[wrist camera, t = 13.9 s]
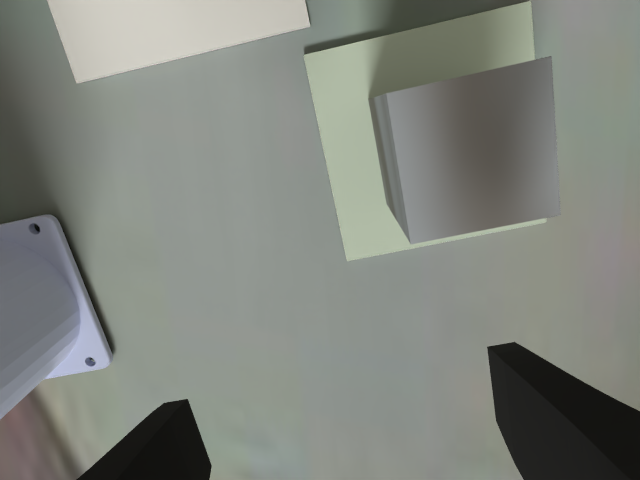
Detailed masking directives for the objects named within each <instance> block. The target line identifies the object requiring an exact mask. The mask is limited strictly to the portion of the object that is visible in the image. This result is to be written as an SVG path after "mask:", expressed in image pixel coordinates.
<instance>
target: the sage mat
mask: <svg viewBox="0 0 640 480" xmlns="http://www.w3.org/2000/svg"><path fill="white" fill-rule="evenodd" d="M304 60H305V65H306V70H307V74H308V79H309V84H310V88H311V93H312V98H313V103H314V107H315V112H316V117H317V122H318V126H319V131H320V136H321V141H322V145H323V150H324V155H325V160H326V164H327V169H328V174H329V179H330V183H331V188H332V193H333V198H334V202H335V207H336V212H337V216H338V221H339V226H340V231H341V235H342V240H343V245H344V250H345V254H346V259H347V261H351V260H356V259H361V258H366V257H372V256H377V255H382V254H387V253H392V252H397V251H402V250H407V249H412V248H417V247H423V246H428V245H433V244H438V243H443V242H448V241H453V240H458V239H463V238H469V237H474V236H479V235H484V234H489V233H494V232H499V231H504V230H509V229H515V228H520V227H525V226H530V225H535V224H540V223H545V222H546V218H543V219H538V220H533V221H528V222H523V223H518V224H513V225H508V226H503V227H497V228H492V229H487V230H482V231H477V232H472V233H467V234H462V235H457V236H451V237H446V238H441V239H436V240H431V241H426V242H421V243H416V244H410V242H409V241H408V239H407V237H406V236H405V234H404V232H403V231H402V229H401V227H400V226H399V224H398V222H397V221H396V219H395V217H394V216H393V214H392V212H391V211H390V209H389V207H388V206H387V204H386V198H385V193H384V187H383V181H382V175H381V170H380V164H379V158H378V153H377V147H376V141H375V135H374V130H373V124H372V118H371V113H370V107H369V101H368V99H371V98H374V97H377V96H380V95H383V94H386V93H390V92H395V91H399V90H404V89H408V88H412V87H417V86H421V85H426V84H430V83H434V82H439V81H443V80H448V79H452V78H456V77H461V76H465V75H470V74H474V73H479V72H483V71H487V70H492V69H496V68H501V67H505V66H509V65H514V64H518V63H523V62H527V61H532V60H535V52H534V38H533V23H532V9H531V1H527V2H523V3H519V4H515V5H511V6H506V7H502V8H498V9H494V10H490V11H486V12H481V13H477V14H473V15H469V16H465V17H460V18H456V19H452V20H448V21H444V22H440V23H435V24H431V25H427V26H423V27H419V28H414V29H410V30H406V31H402V32H398V33H393V34H389V35H385V36H381V37H377V38H373V39H368V40H364V41H360V42H356V43H352V44H347V45H343V46H339V47H335V48H331V49H327V50H322V51H318V52H314V53H310V54H306V55H304Z"/></svg>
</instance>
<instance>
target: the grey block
mask: <svg viewBox="0 0 640 480" xmlns="http://www.w3.org/2000/svg"><path fill="white" fill-rule="evenodd" d="M368 101H369V107H370V113H371V118H372V124H373V130H374V135H375V141H376V147H377V153H378V158H379V164H380V170H381V175H382V181H383V187H384V193H385V198H386V204H387V206H388V207H389V209H390V211H391V212H392V214H393V216H394V217H395V219H396V221H397V222H398V224H399V226H400V227H401V229H402V231H403V232H404V234H405V236H406V237H407V239H408V241H409V242H410V244H416V243H421V242H426V241H431V240H436V239H441V238H446V237H451V236H457V235H462V234H467V233H472V232H477V231H482V230H487V229H492V228H497V227H503V226H508V225H513V224H518V223H523V222H528V221H533V220H538V219H543V218H548V217H554V216H559V215H561V212H560V195H559V178H558V160H557V143H556V126H555V109H554V92H553V74H552V57H551V56H549V57H545V58H540V59H536V60H532V61H527V62H523V63H518V64H514V65H509V66H505V67H501V68H496V69H492V70H487V71H483V72H479V73H474V74H470V75H465V76H461V77H456V78H452V79H448V80H443V81H439V82H434V83H430V84H426V85H421V86H417V87H412V88H408V89H404V90H399V91H395V92H390V93H386V94H383V95H380V96H377V97H374V98H371V99H368Z"/></svg>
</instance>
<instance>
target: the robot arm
mask: <svg viewBox="0 0 640 480" xmlns="http://www.w3.org/2000/svg"><path fill="white" fill-rule="evenodd" d="M34 224H37V225H38V226H39V227H40V232H38V231H37V230H36V229H35V227H34ZM487 348H488V356H489V365H490V373H491V381H492V390H493V398H494V406H495V415H496V421H497V424H498V426H499V428H500V431H501V433H502V436H503V438H504V440H505V443H506V445H507V447H508V449H509V452H510V454H511V456H512V458H513V461H514V463H515V465H516V467H517V468H518V470H519V472H520V474H521V475H522V477H523V479H524V480H640V411H638V410H636V409H634V408H632V407H630V406H628V405H626V404H624V403H622V402H620V401H618V400H616V399H614V398H612V397H610V396H608V395H606V394H604V393H603V392H601V391H599V390H597V389H595V388H593V387H591V386H590V385H588V384H586V383H584V382H582V381H581V380H579V379H577V378H575V377H574V376H572V375H570V374H568V373H567V372H565V371H563V370H561V369H560V368H558V367H556V366H555V365H553V364H551V363H550V362H548V361H546V360H544V359H543V358H541V357H539V356H538V355H536V354H534V353H533V352H531V351H529V350H528V349H526V348H524V347H522V346H521V345H519V344H517V343H515V342H512V343H507V344H501V345H495V346H489V347H487ZM89 357H91V358H93V359H94V360H95V362H93V361H91V360H90V358H89ZM112 360H113V355H112V352H111V350H110V347H109V345H108V342H107V340H106V337H105V335H104V332H103V330H102V327H101V325H100V322H99V320H98V317H97V315H96V312H95V310H94V307H93V305H92V302H91V300H90V297H89V295H88V292H87V290H86V287H85V285H84V282H83V280H82V277H81V275H80V272H79V270H78V267H77V265H76V263H75V260H74V258H73V255H72V253H71V250H70V248H69V245H68V243H67V240H66V238H65V235H64V233H63V230H62V228H61V225H60V223H59V221H58V219H57V218H55V217H54V216H52V215H50V214H45V215H40V216H36V217H31V218H27V219H22V220H17V221H13V222H8V223H4V224H0V419H1V418H2V417H3V416H5V415H6V414H7V413H8V412H9V411H10V410H11V409H12V408H13V407H14V406H15V405H16V404H17V403H19V402H20V401H21V400H22V399H23V398H24V397H25V396H26V395H27V394H28V393H29V392H30V391H31V390H32V389H34V388H35V387H36V386H37V385H38V384H39V383H40V382H41V381H42V380H43V379H48V378H53V377H59V376H64V375H70V374H75V373H81V372H86V371H92V370H97V369H102V368H106V367H107V366H108V365H109V364H110V363H111V362H112ZM211 467H212V466H211V463H210V460H209V457H208V455H207V452H206V449H205V446H204V443H203V441H202V438H201V435H200V432H199V429H198V427H197V424H196V421H195V418H194V415H193V413H192V410H191V407H190V404H189V401H188V399H184V400H179V401H173V402H167V403H163V404H162V405H161V406H160V407H158V408H157V409H156V410H154V411H153V412H152V413H151V414H150V415H149V416H147V417H146V418H145V419H144V420H143V421H142V422H141V423H139V424H138V425H137V426H136V427H135V428H134V429H133V430H132V431H131V432H129V433H128V434H127V435H126V436H125V437H124V438H123V439H122V440H121V441H120V442H118V443H117V444H116V445H115V446H114V447H113V448H112V449H111V450H110V451H109V452H107V453H106V454H105V455H104V456H103V457H102V458H101V459H100V460H99V461H97V462H96V463H95V464H94V465H93V466H92V467H91V468H90V469H89V470H87V471H86V472H85V473H84V474H83V475H81V476H80V477H79V478H78V479H77V480H209V478H210V472H211Z"/></svg>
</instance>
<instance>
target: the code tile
mask: <svg viewBox="0 0 640 480" xmlns="http://www.w3.org/2000/svg"><path fill="white" fill-rule="evenodd" d="M47 1H48V4H49V7H50V10H51V13H52V15H53V18H54V21H55V24H56V27H57V29H58V32H59V35H60V38H61V41H62V43H63V46H64V49H65V52H66V55H67V58H68V60H69V63H70V66H71V69H72V72H73V74H74V77H75V80H76V83H83V82H87V81H91V80H95V79H99V78H103V77H107V76H111V75H115V74H119V73H123V72H128V71H132V70H136V69H140V68H144V67H148V66H152V65H156V64H160V63H164V62H168V61H173V60H177V59H181V58H185V57H189V56H193V55H197V54H201V53H205V52H209V51H213V50H218V49H222V48H226V47H230V46H234V45H238V44H242V43H246V42H250V41H254V40H258V39H263V38H267V37H271V36H275V35H279V34H283V33H287V32H291V31H295V30H299V29H303V28H308V27H310V22H309V17H308V12H307V7H306V2H305V0H47Z"/></svg>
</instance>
